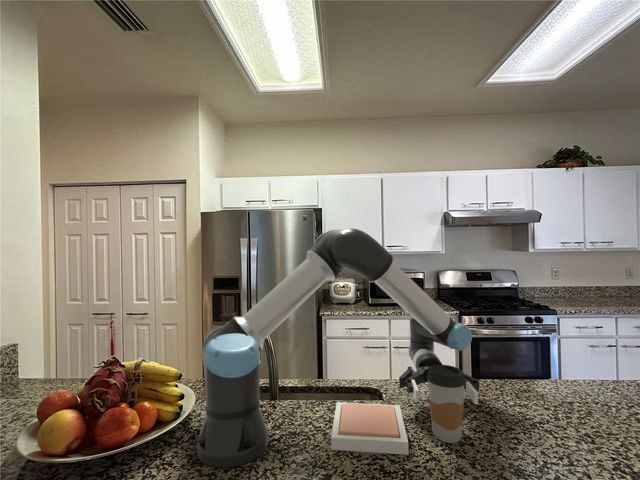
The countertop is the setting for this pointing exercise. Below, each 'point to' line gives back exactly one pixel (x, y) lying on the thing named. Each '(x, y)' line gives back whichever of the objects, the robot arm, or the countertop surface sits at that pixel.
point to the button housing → (369, 437)
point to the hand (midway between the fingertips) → (446, 397)
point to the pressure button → (368, 420)
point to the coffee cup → (446, 401)
